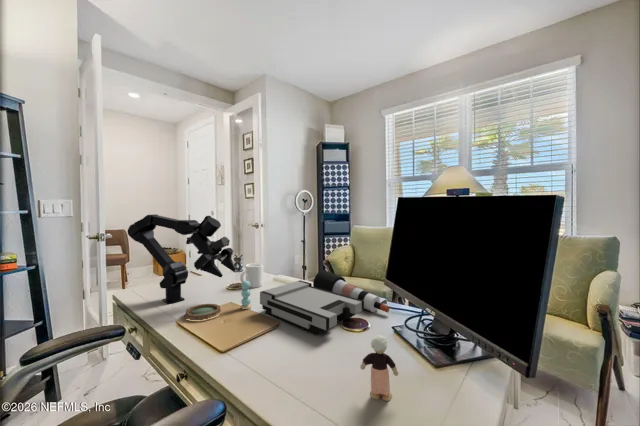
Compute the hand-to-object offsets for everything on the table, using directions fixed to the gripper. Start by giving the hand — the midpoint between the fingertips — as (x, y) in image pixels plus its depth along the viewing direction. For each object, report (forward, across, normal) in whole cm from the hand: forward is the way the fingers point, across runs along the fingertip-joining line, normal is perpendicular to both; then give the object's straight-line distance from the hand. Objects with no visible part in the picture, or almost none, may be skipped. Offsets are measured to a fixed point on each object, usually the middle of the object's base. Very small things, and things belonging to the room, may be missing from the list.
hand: (228, 273), depth 108 cm
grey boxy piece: (+34, -1, -14) cm, 36 cm away
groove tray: (+6, -10, +12) cm, 17 cm away
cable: (+42, +15, -23) cm, 50 cm away
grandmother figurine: (+51, -37, -32) cm, 71 cm away
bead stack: (+14, 0, +4) cm, 15 cm away
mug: (+7, +26, +12) cm, 29 cm away
